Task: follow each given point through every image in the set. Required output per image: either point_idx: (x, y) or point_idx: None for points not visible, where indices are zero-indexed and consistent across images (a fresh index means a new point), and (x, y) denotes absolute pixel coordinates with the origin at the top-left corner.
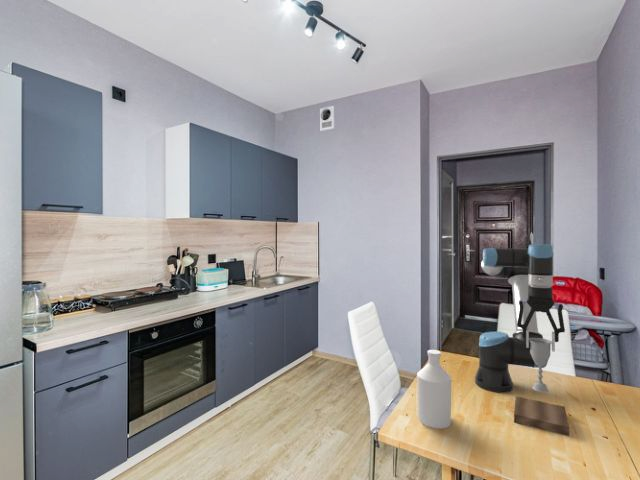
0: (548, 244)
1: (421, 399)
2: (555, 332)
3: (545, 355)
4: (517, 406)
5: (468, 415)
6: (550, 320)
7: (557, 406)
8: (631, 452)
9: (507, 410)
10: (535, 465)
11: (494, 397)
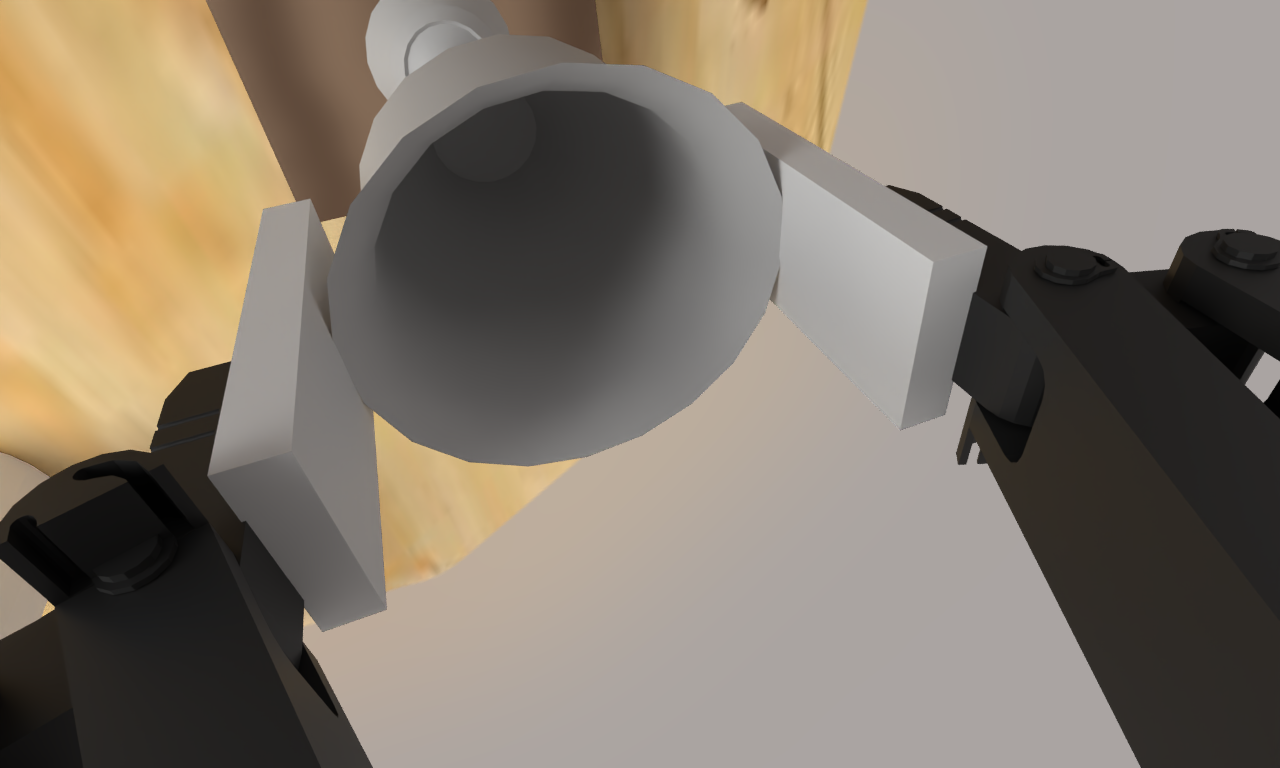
0: None
1: None
2: (978, 420)
3: (605, 277)
4: (261, 72)
5: (38, 329)
6: (1165, 756)
7: None
8: (836, 90)
9: (173, 38)
10: (516, 465)
11: None
